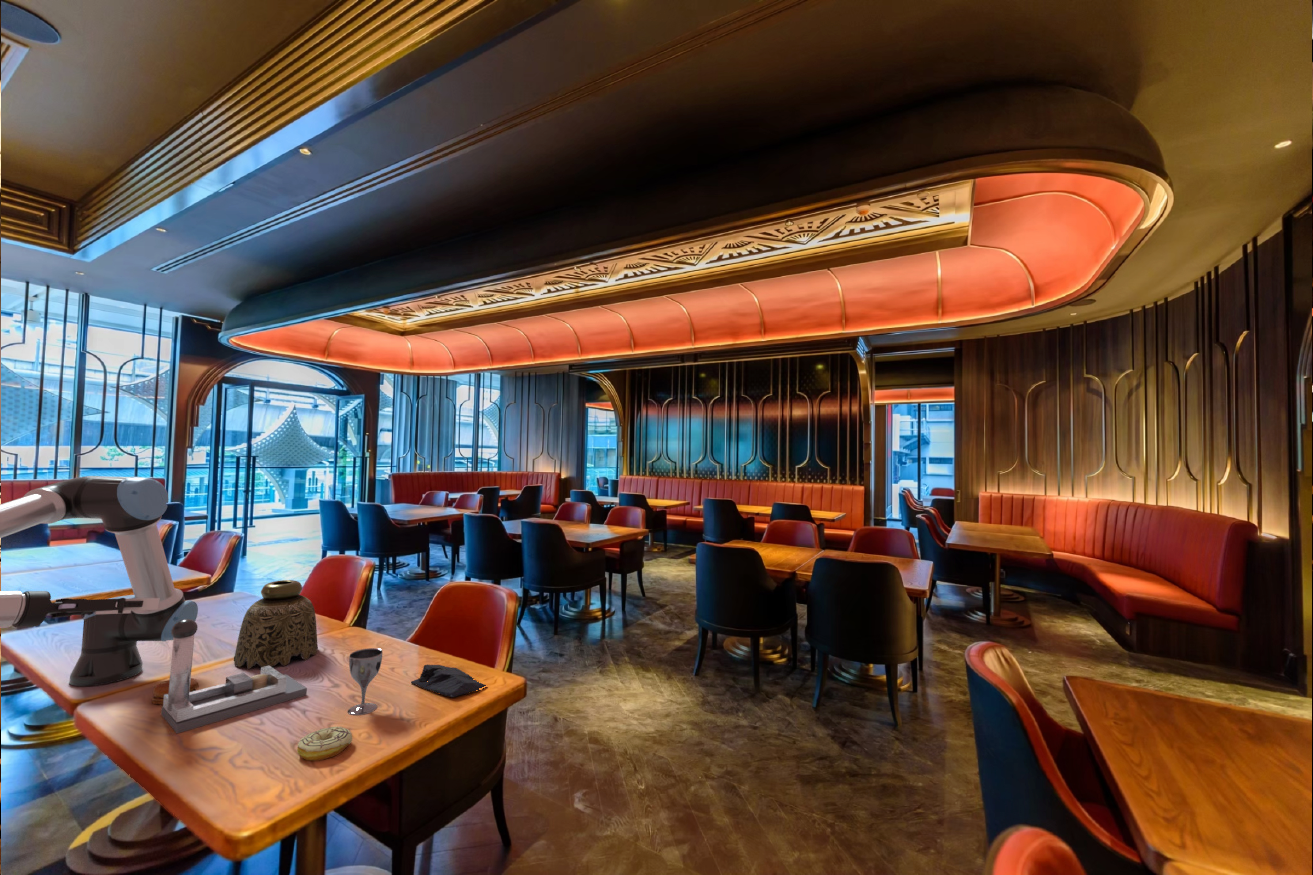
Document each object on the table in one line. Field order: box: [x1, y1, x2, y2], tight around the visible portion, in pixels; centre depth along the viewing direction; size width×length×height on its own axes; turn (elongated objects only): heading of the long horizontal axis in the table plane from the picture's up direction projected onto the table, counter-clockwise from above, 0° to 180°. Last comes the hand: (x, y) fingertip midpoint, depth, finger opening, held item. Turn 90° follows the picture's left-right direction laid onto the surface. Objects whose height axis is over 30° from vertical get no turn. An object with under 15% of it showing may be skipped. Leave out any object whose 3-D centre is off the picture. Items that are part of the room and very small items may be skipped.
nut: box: [249, 673, 268, 691], centre depth 146 cm, size 4×4×4 cm
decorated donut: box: [296, 726, 353, 762], centre depth 122 cm, size 10×11×4 cm
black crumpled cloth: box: [410, 664, 486, 698], centre depth 160 cm, size 15×22×5 cm
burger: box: [151, 677, 199, 706], centre depth 145 cm, size 10×9×5 cm
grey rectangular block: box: [225, 672, 253, 698], centre depth 143 cm, size 7×4×5 cm, turn 54°
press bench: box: [160, 673, 308, 734], centre depth 142 cm, size 15×28×2 cm, turn 144°
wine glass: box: [347, 647, 383, 716], centre depth 143 cm, size 8×8×15 cm
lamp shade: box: [233, 579, 319, 670], centre depth 178 cm, size 23×23×25 cm
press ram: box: [162, 619, 287, 722], centre depth 141 cm, size 13×24×23 cm, turn 144°
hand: (144, 605), depth 131 cm, fingers open, 13 cm apart
